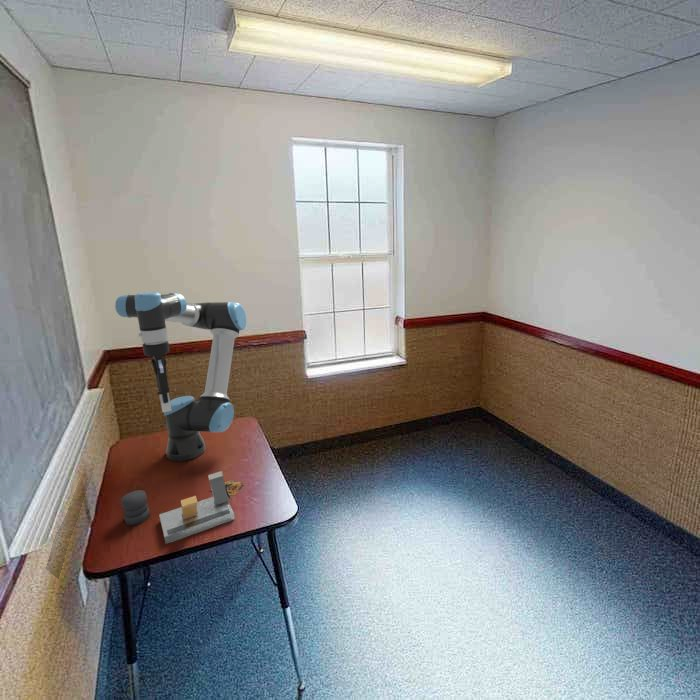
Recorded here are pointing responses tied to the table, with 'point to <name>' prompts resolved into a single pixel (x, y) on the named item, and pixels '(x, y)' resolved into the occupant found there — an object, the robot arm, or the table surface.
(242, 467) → the table surface
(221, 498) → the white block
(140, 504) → the grey stacked discs
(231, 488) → the butterfly model
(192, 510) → the paddle orange
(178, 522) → the panel
